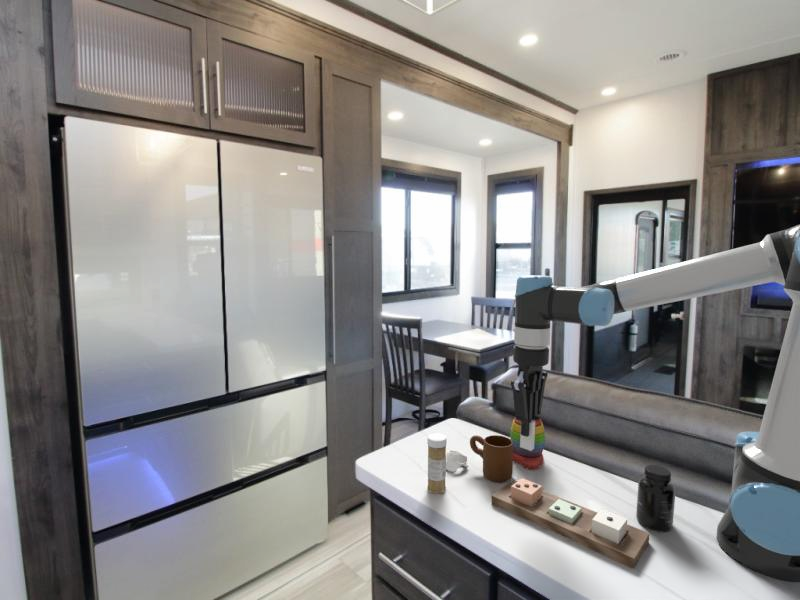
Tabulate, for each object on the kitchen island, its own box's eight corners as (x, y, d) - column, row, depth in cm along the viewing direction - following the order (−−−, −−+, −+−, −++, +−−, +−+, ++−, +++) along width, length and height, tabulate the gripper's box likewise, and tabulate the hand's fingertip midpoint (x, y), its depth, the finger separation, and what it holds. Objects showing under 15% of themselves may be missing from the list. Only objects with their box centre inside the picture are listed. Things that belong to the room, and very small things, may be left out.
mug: (462, 471, 115) (463, 437, 114) (476, 460, 121) (477, 428, 120) (504, 486, 108) (505, 450, 107) (517, 474, 114) (518, 439, 113)
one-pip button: (626, 533, 87) (627, 518, 87) (618, 545, 84) (619, 529, 83) (600, 522, 91) (601, 507, 90) (591, 533, 87) (592, 518, 87)
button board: (648, 542, 87) (649, 533, 87) (633, 568, 80) (634, 558, 79) (513, 487, 107) (513, 479, 107) (491, 503, 100) (491, 495, 100)
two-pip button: (580, 521, 94) (581, 507, 93) (571, 531, 90) (572, 517, 90) (558, 511, 97) (558, 498, 97) (548, 521, 93) (548, 507, 93)
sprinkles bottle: (435, 482, 110) (435, 431, 108) (449, 489, 106) (450, 436, 105) (423, 489, 106) (423, 436, 105) (438, 496, 103) (438, 442, 102)
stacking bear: (499, 457, 123) (500, 396, 121) (520, 447, 130) (521, 389, 128) (532, 471, 115) (534, 406, 113) (553, 460, 122) (555, 398, 120)
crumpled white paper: (435, 467, 119) (433, 451, 119) (452, 458, 124) (450, 442, 123) (457, 477, 113) (455, 459, 113) (474, 466, 117) (472, 449, 117)
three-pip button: (541, 498, 100) (542, 485, 99) (531, 507, 96) (531, 493, 96) (521, 490, 103) (521, 477, 103) (510, 498, 100) (511, 485, 99)
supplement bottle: (628, 517, 95) (631, 464, 94) (651, 510, 98) (654, 459, 96) (656, 536, 89) (660, 480, 88) (680, 528, 91) (684, 474, 90)
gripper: (529, 338, 103) (525, 434, 106) (500, 347, 94) (497, 451, 96) (560, 343, 98) (555, 444, 101) (533, 353, 89) (528, 463, 91)
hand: (527, 447), depth 98 cm, fingers closed
